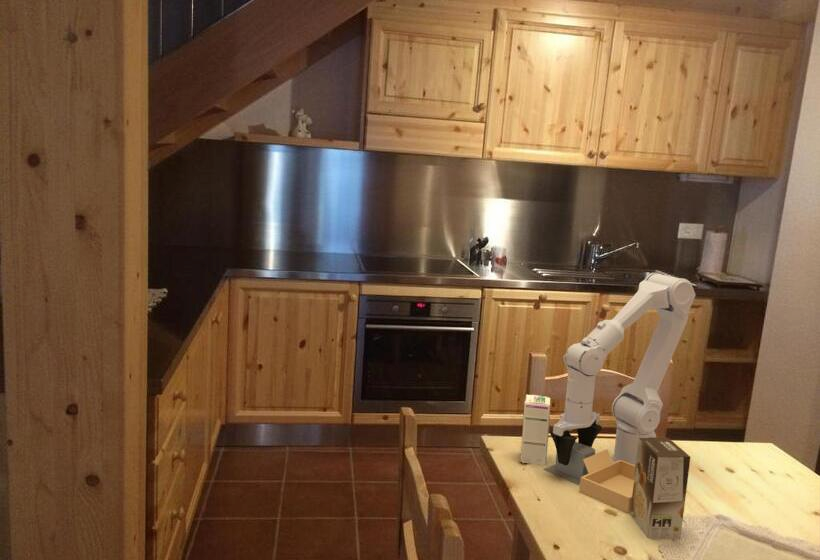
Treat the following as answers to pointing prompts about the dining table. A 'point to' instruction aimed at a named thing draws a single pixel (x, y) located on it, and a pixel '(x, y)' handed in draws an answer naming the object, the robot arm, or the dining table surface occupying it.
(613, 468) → the carton
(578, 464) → the block
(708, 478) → the dining table surface
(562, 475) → the mat
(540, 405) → the syrup box
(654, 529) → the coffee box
